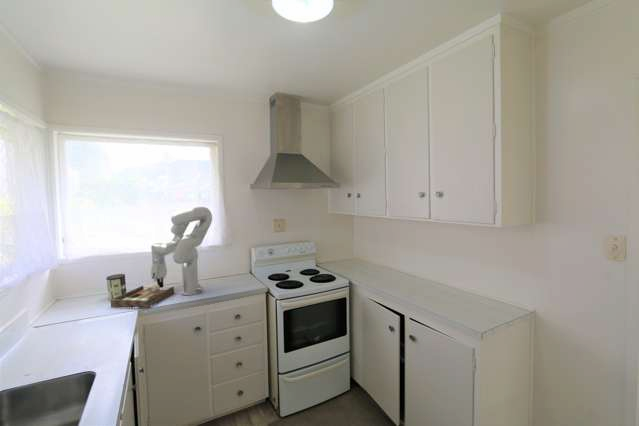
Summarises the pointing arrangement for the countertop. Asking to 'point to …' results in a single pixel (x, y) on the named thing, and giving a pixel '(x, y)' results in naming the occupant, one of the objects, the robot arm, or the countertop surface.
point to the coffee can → (116, 285)
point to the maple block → (153, 289)
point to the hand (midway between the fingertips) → (160, 287)
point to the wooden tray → (140, 298)
